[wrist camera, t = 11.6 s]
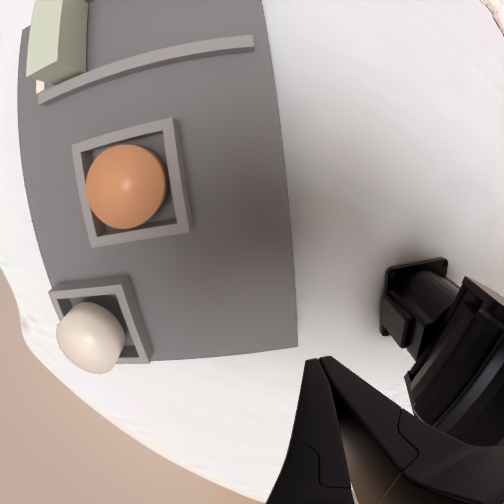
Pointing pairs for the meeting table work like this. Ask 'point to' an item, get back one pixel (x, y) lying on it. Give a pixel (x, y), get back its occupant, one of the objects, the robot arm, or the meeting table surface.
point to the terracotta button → (127, 185)
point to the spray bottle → (496, 11)
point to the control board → (181, 179)
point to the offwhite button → (91, 337)
